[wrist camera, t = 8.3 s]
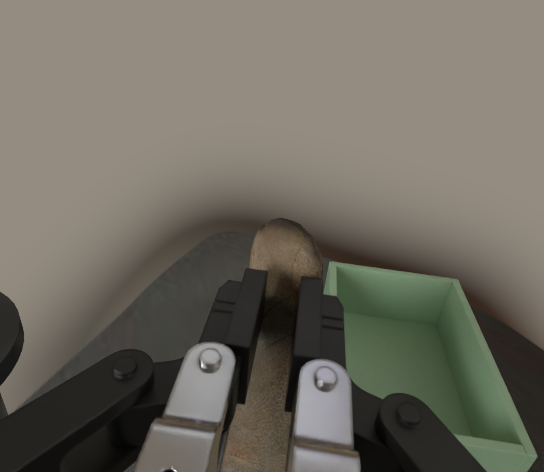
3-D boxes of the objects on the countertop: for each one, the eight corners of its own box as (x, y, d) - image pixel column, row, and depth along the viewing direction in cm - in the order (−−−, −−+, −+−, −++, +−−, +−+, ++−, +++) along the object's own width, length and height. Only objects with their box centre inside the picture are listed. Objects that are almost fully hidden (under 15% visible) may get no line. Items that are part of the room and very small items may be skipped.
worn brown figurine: (249, 479, 25) (295, 187, 19) (333, 531, 23) (412, 215, 17) (72, 709, 15) (62, 242, 9) (190, 846, 13) (268, 330, 7)
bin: (315, 478, 26) (329, 422, 23) (320, 308, 40) (329, 261, 37) (500, 510, 25) (538, 456, 22) (439, 326, 39) (458, 278, 36)
